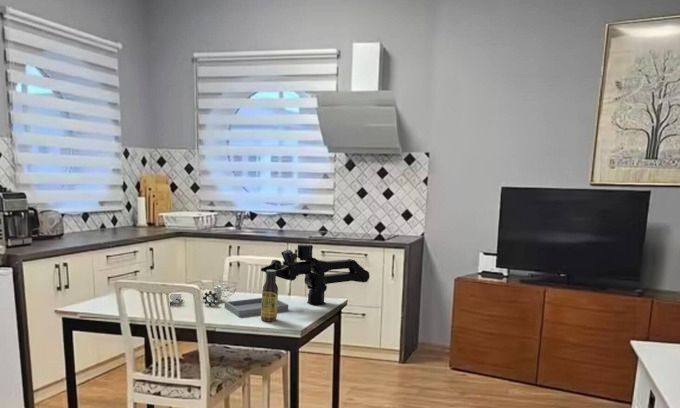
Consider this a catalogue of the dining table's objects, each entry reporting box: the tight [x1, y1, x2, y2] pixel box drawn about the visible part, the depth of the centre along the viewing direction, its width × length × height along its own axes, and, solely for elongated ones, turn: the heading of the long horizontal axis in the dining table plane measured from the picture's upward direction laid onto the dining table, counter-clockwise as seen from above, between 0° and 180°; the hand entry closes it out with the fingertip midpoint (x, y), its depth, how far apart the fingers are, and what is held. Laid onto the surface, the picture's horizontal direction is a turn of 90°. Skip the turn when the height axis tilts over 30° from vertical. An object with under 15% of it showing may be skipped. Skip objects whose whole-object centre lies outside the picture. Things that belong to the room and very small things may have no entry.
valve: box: [202, 285, 223, 307], centre depth 225 cm, size 7×7×12 cm
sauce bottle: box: [260, 270, 279, 322], centre depth 198 cm, size 6×6×20 cm
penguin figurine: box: [170, 294, 183, 305], centre depth 225 cm, size 6×8×12 cm
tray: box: [224, 297, 289, 318], centre depth 215 cm, size 22×17×2 cm
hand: (265, 271), depth 213 cm, fingers open, 9 cm apart
